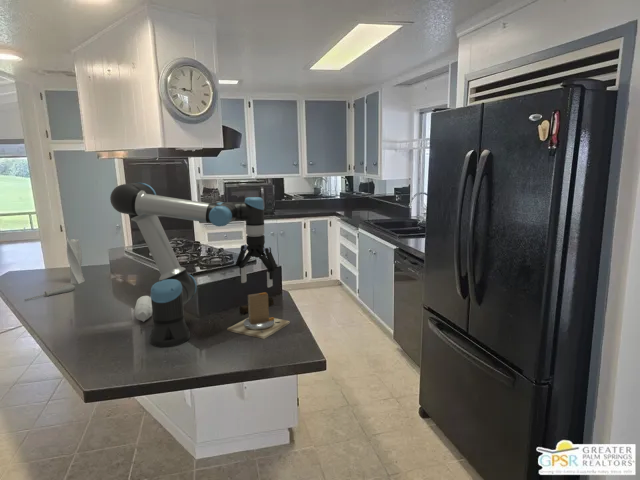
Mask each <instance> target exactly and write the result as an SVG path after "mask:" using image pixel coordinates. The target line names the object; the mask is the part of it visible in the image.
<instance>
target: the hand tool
mask: <svg viewBox="0 0 640 480" xmlns="http://www.w3.org/2000/svg"><path fill="white" fill-rule="evenodd" d="M274 303H275V301H274V298H273V297H272V296H268V306H269V307H271V306H273V305H274ZM239 312H240V314H242V315H244V314H247V313H249V311H248V304H245V305H240V306H239Z"/></svg>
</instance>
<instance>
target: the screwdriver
mask: <svg viewBox="0 0 640 480" xmlns="http://www.w3.org/2000/svg"><path fill="white" fill-rule="evenodd" d="M75 289H76V286H75V285H74V284H64V285H63V286H60V287H58V288H55V289H52V290H47V291H44V293H43V294H40V295H36V296H32V297H28V298H25V299H24V301H29V300H33V299H36V298H39V297H43V296H45V298H47V297H50V296H53V295H54V296H56V295H59V294H67V293H70V292H72V291H74V290H75Z"/></svg>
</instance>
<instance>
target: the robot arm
mask: <svg viewBox="0 0 640 480" xmlns="http://www.w3.org/2000/svg"><path fill="white" fill-rule="evenodd" d="M109 199H110V203H111V206H112V207H113V209H114V210H115V211H117V212H118V213H120V214H123V215H128V217H129V219H130V221H133V222H135V223H136V224H137V226H138V229H139V231H140V233H141V235H142V237H143V240H144V241H145V243H146V246H147V248H148V250H149V252H150V254H151V257H152V259H153V261H154V263H155V265H156V268H157V270H158V272H159V274H160V277H159V278H158V280H159V281H157V282H155V283H154V284H152V285H151V288H150V295H149V297H151V303H152V321H153V322H152V323H153V325H152V329H151V334H150V336H149V343H150V344H151V345H152V346H154V347H159V348H166V347H167V348H168V347H169V348H170V347H175V346H179V345H182V344H185V343H186V342H187V341H189V340H190V338H191V333H190V329H189V327H188V325H187V323H186V321H185V314H184V313H185V312H184V306H185V305H186V304H187V302H190V300H192V299H193V297H194V296H195V294H196V292H197V290H198V287H197V286H198V284H197V281H196V278H195V277H194V276H193V275H191V274H189V273H188V271H187V269H186V267H183V266H181V265H180V262H179V260H178V258H177V256H176V252H175V251H174V249H173V246H172V245H171V243H170V240H169V238H168V236H167V234H166V232H165V229H164V227H163V226H162V223H161V221H160V218H159V216H161V217H166V218H173V219H181V220H186V221H187V220H188V221H194V222H199V223H200V222H201V223H206V224H212V225H213V226H216V227H225V226H226V225H228V224H230V223H231V222H236V221H238V222H239V221H242V222H243V221H245V234H246V236H245V238H246V239H245V240H246V242H245V243H246V244H242V245H241V246H240V252H239V253H238V257H237V258H236V261H235V266H237V267H238V268H239V275H240V281H241V284H245V283H247V277H248V276H247V275H248V274H247V267H246V265H247V264H248V262H249V261H250V259H251V258H258V259H259V260H261V262H262V263H263V265H264V266H265V268H266V269H267V272H266V280H267V281H266V286H267V289H268V288H271V287H273V286H274V284H273V283H274V282H273V279H274V278H275V275H274V273H275V271H278V270H279V268H278V266H277V263H276V260H275V258H274V255H273V253H272V248H271V247H270V246H269V247H265V243H266V241H265V238H266V237H265V208H264V199H263V198H262V197H258V196H257V197H256V196H253V197H251V196H250V197H249V196H248V197H246V198H245V199H244V201H240V202H238V201H236V202H235V201H233V202H229V201H228V202H227V201H222V202H221V201H220V202H216V203H209V202H203V201H196V200H189V199H183V198H176V197H170V196H163V195H158V194H157V193H156V190H155V189H154V188H153V187H152V186H151V185H149V184H147V183H144V182H131V183H124V184H120V185H117V186H116V187H114V189H112V192H110V198H109Z"/></svg>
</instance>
